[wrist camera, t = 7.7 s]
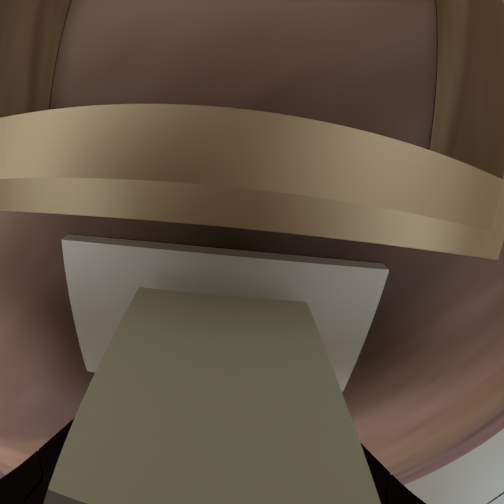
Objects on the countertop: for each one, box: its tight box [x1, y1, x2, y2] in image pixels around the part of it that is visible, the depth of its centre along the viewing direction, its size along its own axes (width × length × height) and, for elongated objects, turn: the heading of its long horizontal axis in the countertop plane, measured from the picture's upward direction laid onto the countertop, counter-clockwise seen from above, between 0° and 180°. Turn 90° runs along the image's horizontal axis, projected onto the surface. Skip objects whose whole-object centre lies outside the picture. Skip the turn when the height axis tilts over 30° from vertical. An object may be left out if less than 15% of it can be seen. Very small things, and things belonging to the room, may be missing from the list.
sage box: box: [43, 287, 381, 504], centre depth 6 cm, size 5×5×8 cm
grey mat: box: [62, 234, 389, 392], centre depth 11 cm, size 12×6×1 cm, turn 83°
